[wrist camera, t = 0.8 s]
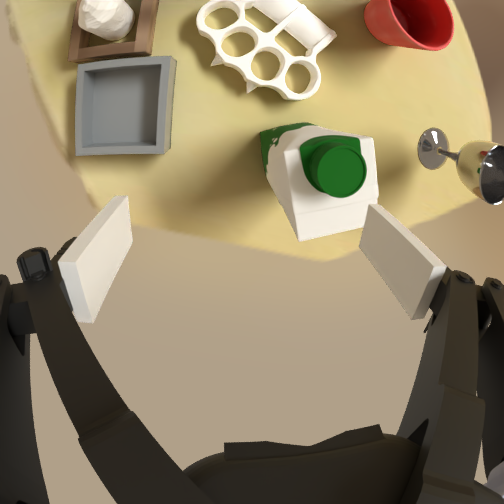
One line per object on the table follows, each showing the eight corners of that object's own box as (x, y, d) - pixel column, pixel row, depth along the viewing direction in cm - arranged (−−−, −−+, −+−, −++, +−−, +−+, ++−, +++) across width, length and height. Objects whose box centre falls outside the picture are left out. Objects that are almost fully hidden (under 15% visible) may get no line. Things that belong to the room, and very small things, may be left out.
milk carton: (315, 115, 36) (392, 133, 19) (324, 177, 41) (395, 240, 23) (251, 126, 37) (278, 150, 19) (264, 190, 41) (297, 264, 24)
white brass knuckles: (348, 53, 33) (280, 123, 37) (249, -27, 26) (175, 43, 30) (358, 50, 30) (284, 125, 34) (251, -37, 23) (170, 38, 28)
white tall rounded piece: (56, -10, 15) (103, -33, 15) (96, 13, 26) (134, -2, 26) (59, 32, 18) (108, 9, 18) (101, 47, 29) (139, 32, 29)
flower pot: (423, 19, 29) (462, 11, 20) (402, 68, 33) (442, 66, 25) (368, -21, 26) (401, -41, 17) (343, 28, 30) (375, 13, 22)
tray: (92, 67, 30) (78, 64, 26) (176, 60, 31) (170, 56, 27) (89, 149, 35) (75, 155, 31) (170, 148, 37) (164, 153, 33)
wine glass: (420, 178, 42) (481, 213, 29) (411, 131, 38) (478, 153, 25) (453, 164, 41) (514, 194, 28) (446, 120, 37) (512, 139, 24)
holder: (88, -5, 24) (79, -10, 21) (162, -15, 25) (157, -23, 23) (77, 62, 29) (67, 61, 26) (151, 54, 30) (145, 51, 28)
